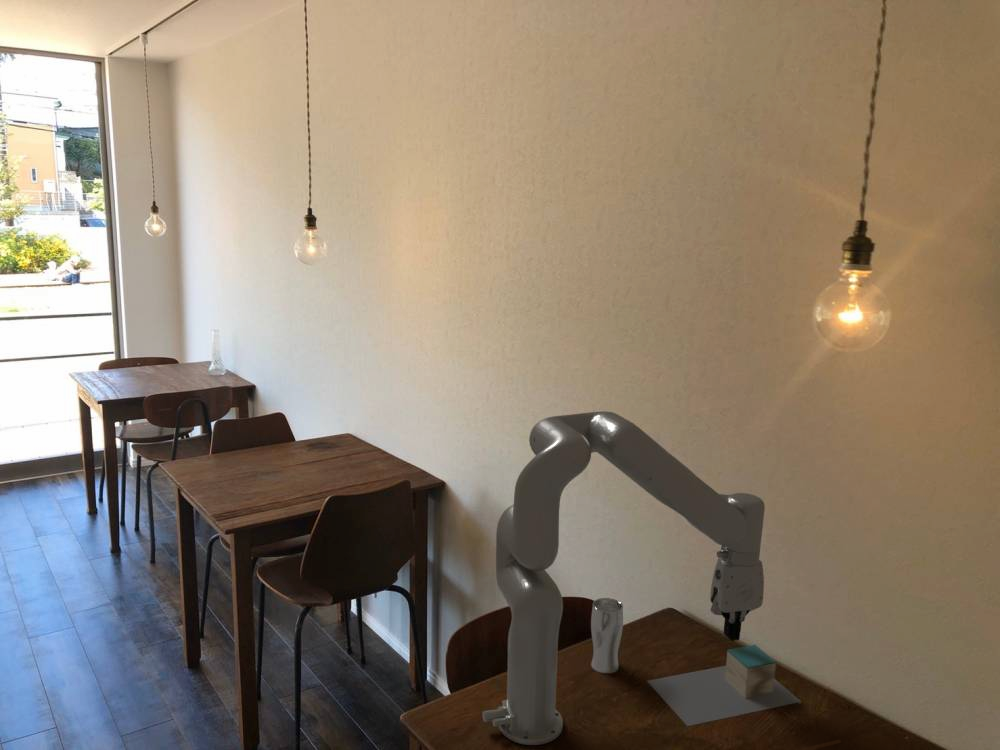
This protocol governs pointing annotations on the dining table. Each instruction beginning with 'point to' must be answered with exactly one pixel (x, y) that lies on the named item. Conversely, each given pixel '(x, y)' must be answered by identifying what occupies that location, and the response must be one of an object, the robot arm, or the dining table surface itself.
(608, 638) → the beer glass
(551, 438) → the robot arm
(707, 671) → the rubber mat
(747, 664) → the birch cube
